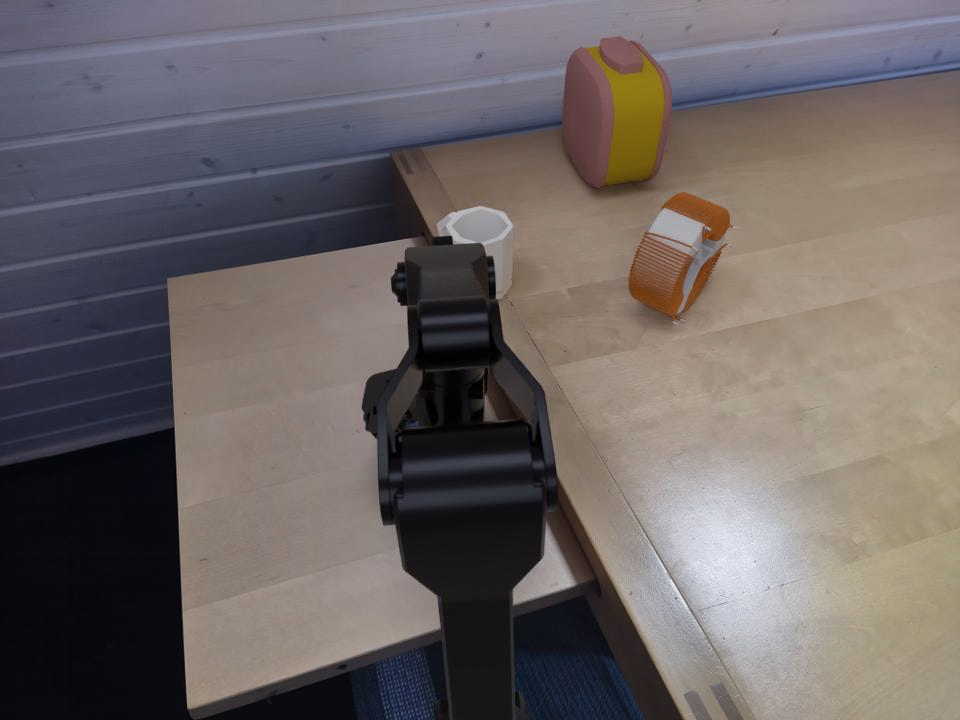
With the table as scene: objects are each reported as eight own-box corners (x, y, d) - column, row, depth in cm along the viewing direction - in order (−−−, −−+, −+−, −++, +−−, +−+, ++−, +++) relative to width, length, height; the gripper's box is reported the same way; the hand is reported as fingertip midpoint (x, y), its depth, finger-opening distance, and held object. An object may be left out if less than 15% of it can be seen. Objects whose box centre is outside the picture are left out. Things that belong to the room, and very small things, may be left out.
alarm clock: (659, 194, 111) (683, 73, 97) (592, 204, 109) (607, 82, 95) (617, 134, 123) (633, 19, 109) (556, 143, 122) (564, 27, 108)
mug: (523, 284, 97) (526, 225, 90) (478, 314, 93) (476, 255, 86) (464, 245, 103) (462, 187, 96) (418, 272, 99) (413, 213, 92)
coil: (619, 319, 92) (636, 225, 81) (677, 261, 100) (699, 168, 89) (667, 343, 89) (691, 249, 78) (722, 281, 97) (751, 188, 86)
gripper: (375, 293, 70) (392, 395, 82) (345, 447, 57) (370, 542, 69) (488, 294, 70) (489, 397, 81) (483, 449, 57) (485, 545, 68)
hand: (458, 464), depth 75 cm, fingers closed on game controller, 7 cm apart
